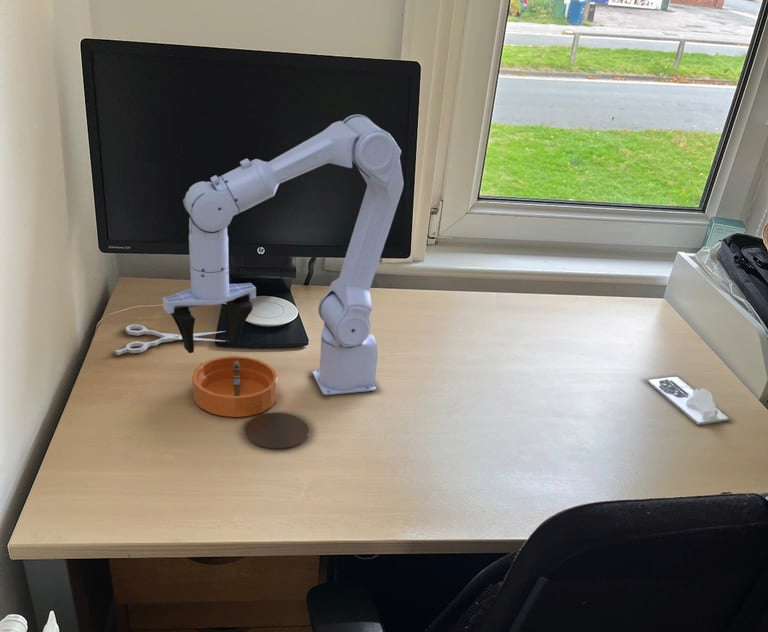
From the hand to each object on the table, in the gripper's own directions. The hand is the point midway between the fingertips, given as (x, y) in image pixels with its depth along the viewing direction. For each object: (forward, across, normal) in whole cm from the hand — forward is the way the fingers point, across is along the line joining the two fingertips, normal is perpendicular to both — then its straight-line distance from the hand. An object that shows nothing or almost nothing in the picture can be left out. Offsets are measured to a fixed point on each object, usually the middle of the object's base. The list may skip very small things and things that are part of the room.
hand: (211, 345), depth 132 cm
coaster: (+10, -5, +14) cm, 17 cm away
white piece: (+10, -76, +37) cm, 85 cm away
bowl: (+10, -3, +2) cm, 10 cm away
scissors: (+10, -2, -21) cm, 23 cm away
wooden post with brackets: (+9, -3, +2) cm, 10 cm away
